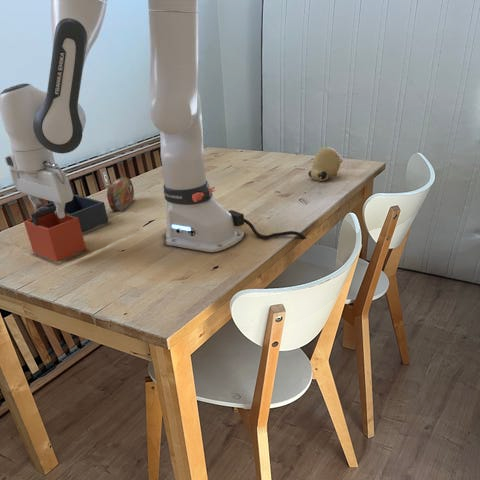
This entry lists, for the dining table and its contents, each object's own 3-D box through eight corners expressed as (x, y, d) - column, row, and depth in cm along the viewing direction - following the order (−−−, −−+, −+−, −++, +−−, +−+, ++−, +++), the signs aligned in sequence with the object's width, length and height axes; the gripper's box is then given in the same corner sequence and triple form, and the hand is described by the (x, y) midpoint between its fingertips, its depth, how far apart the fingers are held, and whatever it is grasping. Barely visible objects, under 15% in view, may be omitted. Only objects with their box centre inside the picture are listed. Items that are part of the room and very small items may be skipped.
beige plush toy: (314, 185, 176) (298, 170, 169) (329, 155, 176) (314, 139, 168) (334, 190, 170) (319, 175, 162) (350, 159, 169) (335, 142, 161)
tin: (118, 215, 152) (112, 188, 148) (109, 214, 153) (103, 188, 148) (136, 198, 164) (131, 173, 160) (127, 198, 165) (122, 173, 160)
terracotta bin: (86, 251, 130) (75, 206, 123) (58, 264, 124) (44, 218, 118) (62, 242, 136) (50, 199, 129) (34, 254, 130) (20, 210, 124)
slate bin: (108, 223, 146) (104, 202, 142) (75, 237, 138) (70, 215, 135) (80, 215, 154) (75, 194, 150) (47, 228, 146) (41, 206, 142)
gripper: (71, 161, 113) (85, 217, 121) (23, 151, 124) (38, 203, 132) (48, 168, 109) (63, 225, 117) (0, 157, 120) (17, 210, 128)
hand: (50, 214), depth 124 cm, fingers open, 8 cm apart
